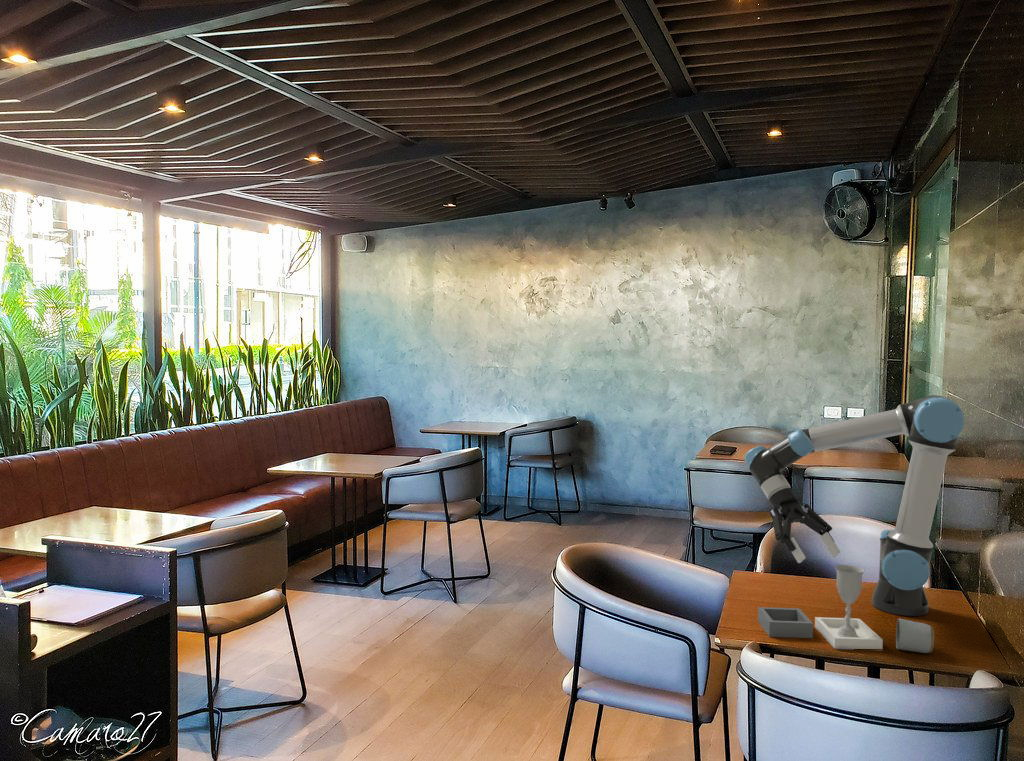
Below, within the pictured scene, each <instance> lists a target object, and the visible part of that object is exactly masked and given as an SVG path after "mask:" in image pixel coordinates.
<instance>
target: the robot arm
mask: <svg viewBox="0 0 1024 761" xmlns="http://www.w3.org/2000/svg"><path fill="white" fill-rule="evenodd" d="M964 426H965V416H964V413H963V410H962V408H961V407H960V406H959V405H958V404H957V403H956V402H955V401H953V400H951V399H949V398H946V397H944V396H942V395H935V394H934V395H927V396H924V397H921V398H919V399H916V400H913V401H910V402H906V403H901V404H898V405H897V407H896V408H894V409H889V410H886V411H881V412H876V413H871V414H867V415H863V416H859V417H853V418H850V419H844V420H841V421H836V422H832V423H827V424H822V425H818V426H812V427H808V428H804V429H803V428H802V429H800V428H799V429H796V430H791V431H788V432H787V433H785V434H784V435H783V437H782V439H781V440H779V441H777V442H776V443H774V444H773V445H771V446H770V447H768V448H766V447H765V446H764V445H758V446H755V447H753V448H751V449H750V450H748V451H747V452H746V453H745V455H744V462H745V464H746V465H747V467H748V470H749V472H750V473H751V475H752V477H754V478H753V479H755V481H756V482H757V484H758V486H759V487H760V489H761V490H762V492H763V493H764V496H765V497H766V499H767V500H768V501H769V502H768V503H769V504H770V506H771V508H772V509H771V510H770V512H769V515H770V517H771V520H772V524H773V530H774V536H775V540H776V541H777V542H779V543H781V545H782V544H783V545H784V544H785V545H786V547H787V549H788V550H789V552H791V554H792V555H793V557H794V558H795V560H796V562H797V563H798V564H800V563H802V562H803V561H804V560H805V559H807V556H806V555H805V553H804V552H803V551H802V549H801V547H800V546H799V544H798V542H797V540H796V539H795V538H794V536H793V537H791V535H792V534H791V532H792V531H791V530H792V524H794V523H796V524H797V523H800V524H801V525H804V526H806V527H808V528H809V529H811V530H812V531H814V532H815V533H817V534H818V535H820V537H819V538H820V539H821V541H822V542H823V544H824V547H826V549H827V551H828V552H829V554H830V555H831V556H832V558H836V556H838V555H839V554H840V553H841V551H840V549H839V547H838V545H837V544H836V542H835V540H834V538H833V537H832V536H831V534H830V532H831V531H832V530H833V527H832V526H831V525H830V524H829V523H828V522H827V521H825V519H823V518H822V517H821V515H818V513H817V512H815V511H814V510H813V509H812V508H811V507H810V505H809V503H805V504H804V505H800V504H799V502H798V500H799V498H798V496H797V494H796V493H795V491H794V489H793V488H791V485H790V483H789V482H788V480H787V479H786V477H785V476H784V474H783V473H782V471H783V470H784V469H787V468H788V467H790V466H791V465H792V464H794V463H796V462H797V461H800V459H802V458H804V457H806V456H807V455H809V454H813V453H817V452H821V451H825V450H832V449H836V448H840V447H841V448H842V447H845V446H850V445H855V444H860V443H865V442H871V441H875V440H880V439H885V438H890V437H895V436H901V435H904V436H907V437H908V440H907V441H908V443H909V444H910V445H911V447H912V451H911V456H910V461H909V465H908V468H907V469H908V470H907V474H906V478H905V483H904V486H903V492H902V495H901V496H902V497H901V499H900V505H899V510H898V514H897V520H896V521H895V522H896V523H895V527H894V529H883V530H882V531H881V533H880V538H879V541H880V547H879V548H880V549H879V572H878V573H879V574H878V581H877V583H876V585H875V588H874V589H873V593H872V596H871V605H872V606H873V607H874V608H876V609H878V610H880V611H883V612H885V613H889V614H893V615H898V616H904V617H905V616H908V617H918V616H919V617H920V616H925V615H928V614H929V601H928V597H927V594H926V591H925V589H924V585H925V584H926V583H927V582H928V580H929V578H930V576H931V567H930V563H931V559H932V553H933V551H934V550H933V549H934V544H933V542H932V541H931V540H930V535H931V530H932V525H933V523H934V522H933V521H934V516H935V513H936V512H935V511H936V508H937V505H938V504H937V503H938V499H939V495H940V490H941V486H942V481H943V479H944V478H943V477H944V473H945V468H946V464H947V460H948V456H949V455H950V454H952V453H953V452H955V451H956V448H957V445H958V444H957V443H958V441H959V436H960V434H961V433H962V430H963V429H964Z"/></svg>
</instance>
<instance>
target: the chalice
mask: <svg viewBox="0 0 1024 761" xmlns="http://www.w3.org/2000/svg"><path fill="white" fill-rule="evenodd" d="M834 568H835V570H836V588H837V591H838V592H837V593H838V594H839V597H840V599H841V601H842V602H843V603H844V604H845V605H846V606H845V609H844V611H845V616H844V618H846V623H845V624H844V625H842V626H841V627H840V629H839V632H838V633H837V635H838V636H840V637H858V636H857V634H856V631H855V629H854V627H852V626H851V625H850V619H851V618H852V617H851V612H852V609H851V605H852V604H855V602H856V600H857V599H858V597H859V595H860V594H861V591H862V587H863V586H862V579H863V574H864V573H865V569H863V568H861V567H859V566H854V565H849V564H838V565H835V566H834Z"/></svg>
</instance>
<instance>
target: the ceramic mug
mask: <svg viewBox="0 0 1024 761" xmlns="http://www.w3.org/2000/svg"><path fill="white" fill-rule="evenodd" d="M896 621H897V622H896V627H895V628H896V629H895V647H896V649H897V650H901V651H909V652H916V653H920V654H921V653H922V654H930V653H932V652H933V649H934V645H935V631H934V628H933V626H932V625H930V624H927V623H923V622H918V621H913V620H909V619H903V618H897V620H896Z"/></svg>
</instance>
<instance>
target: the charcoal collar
mask: <svg viewBox="0 0 1024 761" xmlns="http://www.w3.org/2000/svg"><path fill="white" fill-rule="evenodd" d="M757 622H758V623H759V625H760V626H761V627H762V629H763V630H764V631H765V633H766V634H767V635H768V637H771V638H772V637H773V638H796V639H797V638H798V639H799V638H801V639H813V637H814V636H813V635H814V623H813V622H812V620H811V619H810V618H809V617H808V616H807V615H806V614H805V613H804V612H803V611H802V609H801V608H796V607H794V608H793V607H791V608H790V607H763V606H762V607H761V606H758V607H757Z"/></svg>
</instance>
